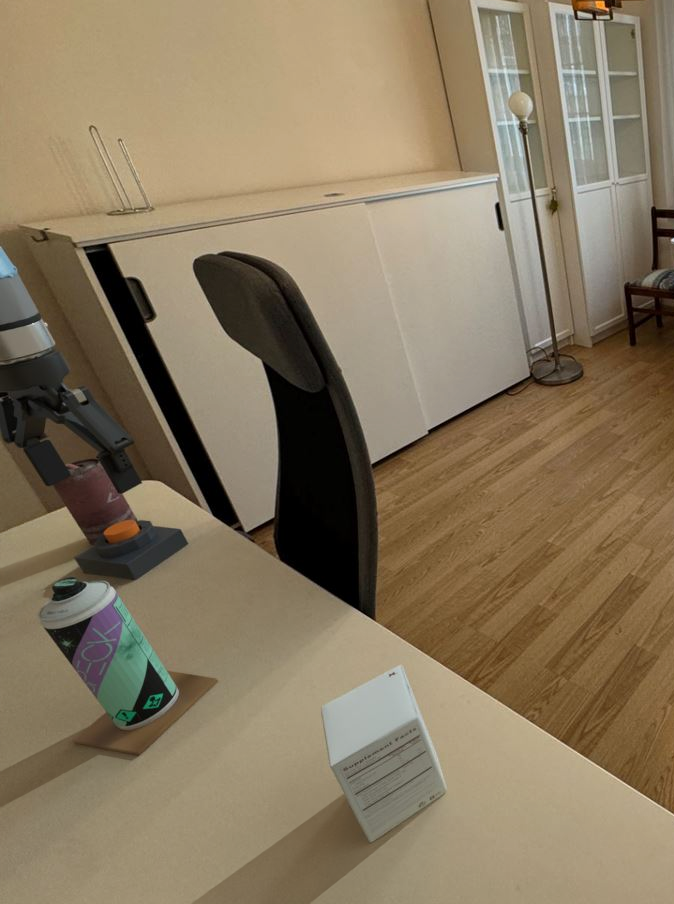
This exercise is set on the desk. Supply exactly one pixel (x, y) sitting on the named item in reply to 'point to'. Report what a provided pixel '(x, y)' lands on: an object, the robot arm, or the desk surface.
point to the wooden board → (141, 738)
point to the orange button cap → (121, 531)
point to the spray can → (108, 651)
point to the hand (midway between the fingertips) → (94, 484)
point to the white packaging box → (382, 752)
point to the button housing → (132, 552)
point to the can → (92, 498)
